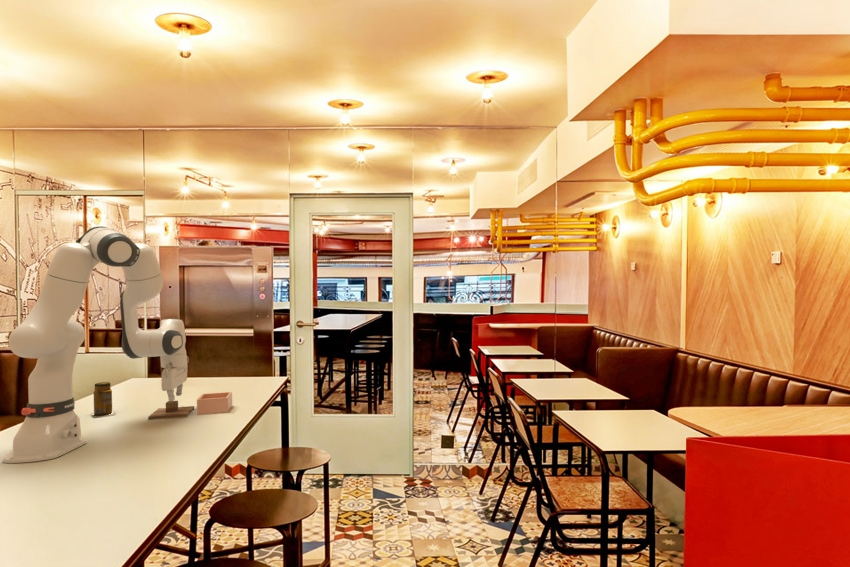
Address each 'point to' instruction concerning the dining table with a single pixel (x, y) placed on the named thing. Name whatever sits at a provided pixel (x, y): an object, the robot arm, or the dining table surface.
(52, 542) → the dining table surface
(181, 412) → the walnut lid
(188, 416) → the pale green square mat
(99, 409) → the condiment
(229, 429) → the dining table surface
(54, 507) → the dining table surface
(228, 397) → the pink rectangular planter
